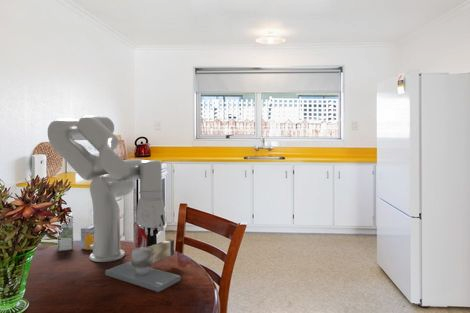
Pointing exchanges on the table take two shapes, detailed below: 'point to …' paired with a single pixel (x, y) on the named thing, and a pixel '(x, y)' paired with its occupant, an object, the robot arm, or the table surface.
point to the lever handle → (152, 253)
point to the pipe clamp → (88, 241)
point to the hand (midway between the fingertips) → (151, 245)
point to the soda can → (140, 237)
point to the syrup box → (66, 236)
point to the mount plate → (143, 276)
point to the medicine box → (87, 230)
